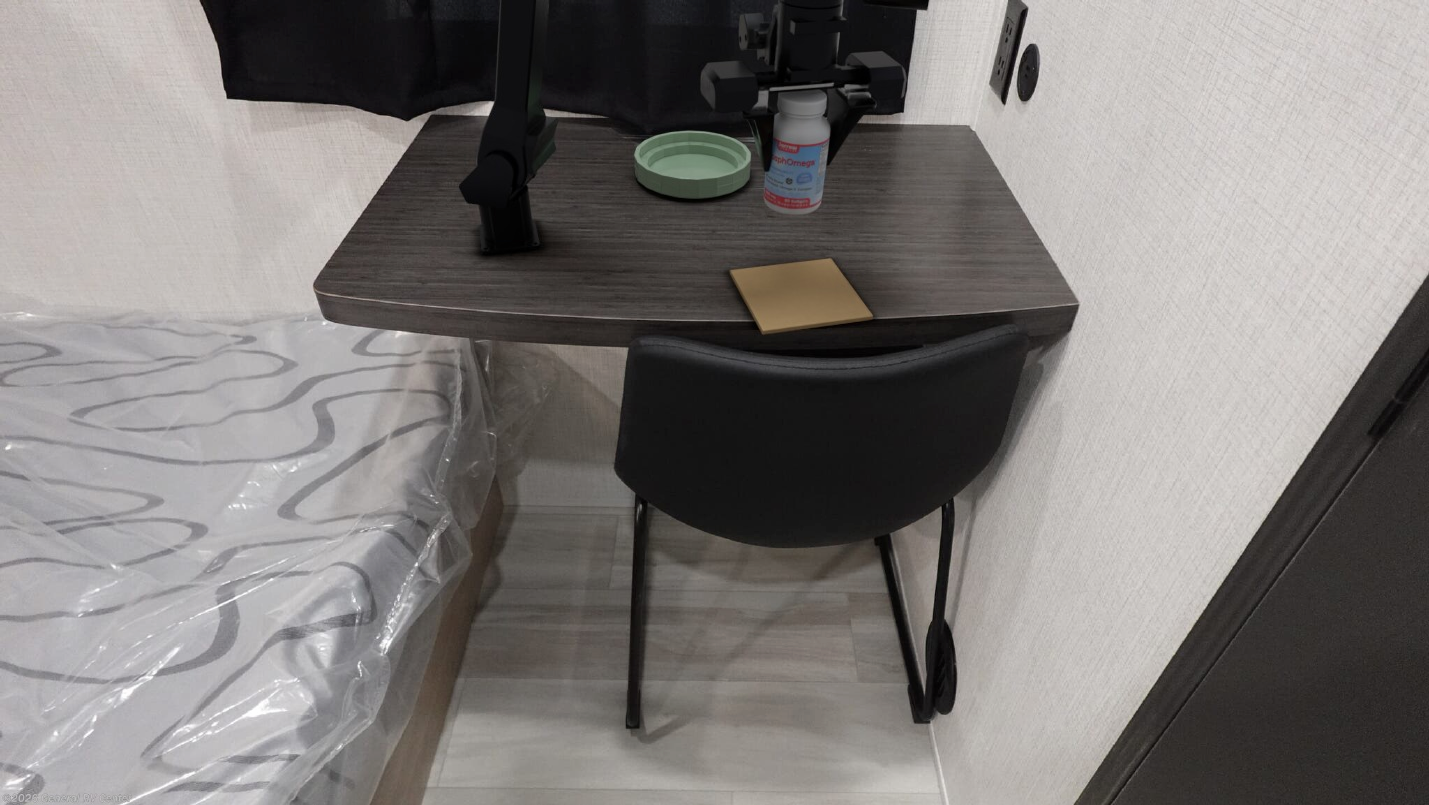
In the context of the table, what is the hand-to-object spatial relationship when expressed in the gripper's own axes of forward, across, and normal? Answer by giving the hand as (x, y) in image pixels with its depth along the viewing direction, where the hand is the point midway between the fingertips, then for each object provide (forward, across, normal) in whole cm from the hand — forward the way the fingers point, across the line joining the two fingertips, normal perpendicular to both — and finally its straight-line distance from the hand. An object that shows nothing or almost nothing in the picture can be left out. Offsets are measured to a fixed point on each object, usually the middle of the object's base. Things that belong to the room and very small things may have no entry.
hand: (795, 167), depth 84 cm
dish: (+13, +4, -28) cm, 31 cm away
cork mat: (+13, 0, +4) cm, 14 cm away
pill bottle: (+4, 0, 0) cm, 4 cm away
